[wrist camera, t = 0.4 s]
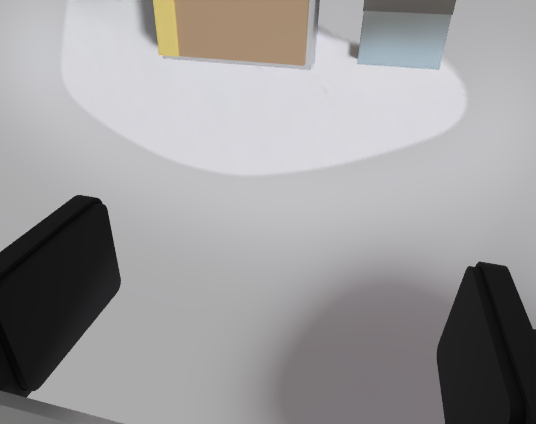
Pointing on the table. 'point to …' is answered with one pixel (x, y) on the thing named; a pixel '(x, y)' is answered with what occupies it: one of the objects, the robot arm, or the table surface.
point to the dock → (239, 31)
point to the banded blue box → (404, 32)
